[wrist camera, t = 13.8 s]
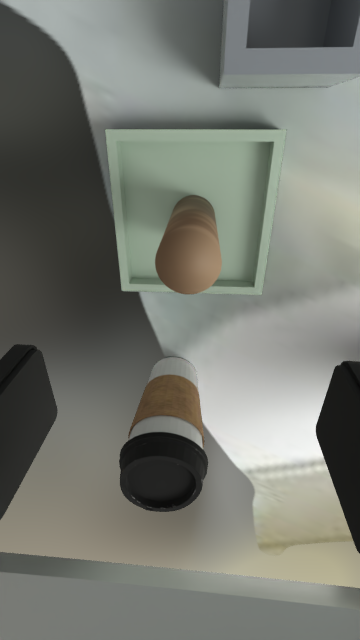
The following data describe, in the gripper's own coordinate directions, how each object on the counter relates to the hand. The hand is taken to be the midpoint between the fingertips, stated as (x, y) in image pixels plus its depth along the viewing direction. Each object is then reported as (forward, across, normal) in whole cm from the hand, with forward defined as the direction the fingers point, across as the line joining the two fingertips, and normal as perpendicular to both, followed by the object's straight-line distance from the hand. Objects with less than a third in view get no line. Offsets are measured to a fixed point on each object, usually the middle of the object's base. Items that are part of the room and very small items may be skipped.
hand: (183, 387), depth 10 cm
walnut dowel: (+22, +1, 0) cm, 22 cm away
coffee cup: (+24, +3, +20) cm, 31 cm away
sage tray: (+23, +1, 0) cm, 23 cm away
